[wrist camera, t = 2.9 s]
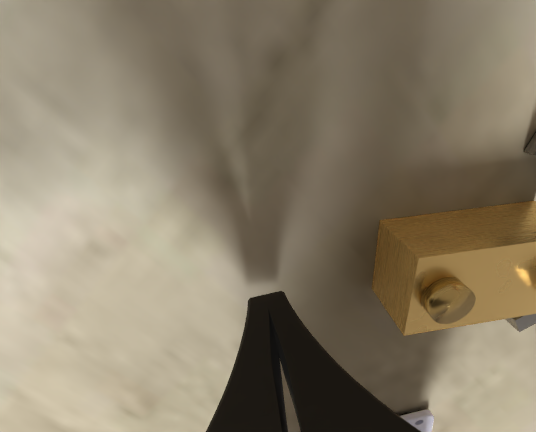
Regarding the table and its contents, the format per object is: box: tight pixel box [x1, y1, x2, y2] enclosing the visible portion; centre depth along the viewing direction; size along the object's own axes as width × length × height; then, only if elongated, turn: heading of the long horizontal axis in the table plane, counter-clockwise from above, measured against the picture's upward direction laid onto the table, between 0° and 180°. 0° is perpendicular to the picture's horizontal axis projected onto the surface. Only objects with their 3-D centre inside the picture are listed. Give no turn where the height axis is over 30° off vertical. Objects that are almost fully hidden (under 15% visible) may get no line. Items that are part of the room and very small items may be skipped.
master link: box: [372, 201, 536, 336], centre depth 12 cm, size 7×4×4 cm, turn 94°
